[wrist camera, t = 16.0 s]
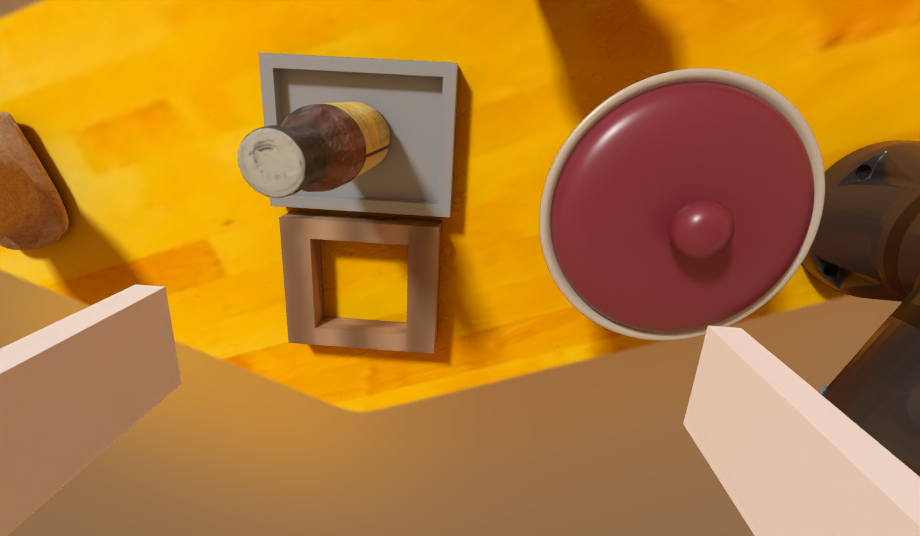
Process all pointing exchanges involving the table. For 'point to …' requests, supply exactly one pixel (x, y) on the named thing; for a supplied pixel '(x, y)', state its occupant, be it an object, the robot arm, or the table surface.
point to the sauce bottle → (314, 149)
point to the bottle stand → (307, 284)
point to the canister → (682, 204)
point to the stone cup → (26, 194)
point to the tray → (408, 116)
